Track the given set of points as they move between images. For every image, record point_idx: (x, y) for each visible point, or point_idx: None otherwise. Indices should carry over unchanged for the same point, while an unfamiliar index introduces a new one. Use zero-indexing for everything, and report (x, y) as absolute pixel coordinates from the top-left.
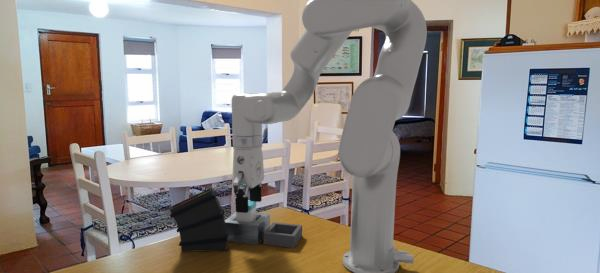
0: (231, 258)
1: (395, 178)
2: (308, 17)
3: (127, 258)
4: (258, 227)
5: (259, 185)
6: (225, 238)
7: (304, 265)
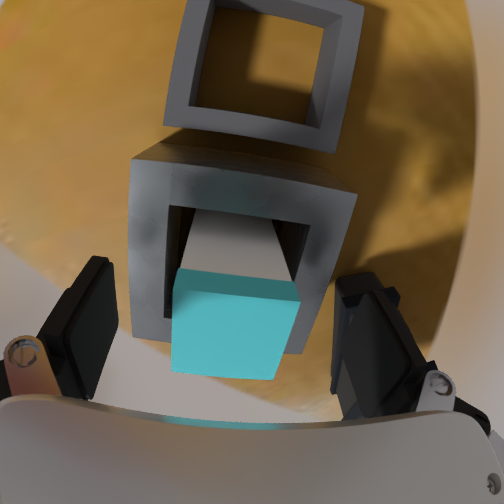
0: (422, 240)
1: None
2: None
3: None
4: (346, 188)
5: (49, 361)
6: (398, 296)
7: (461, 19)
